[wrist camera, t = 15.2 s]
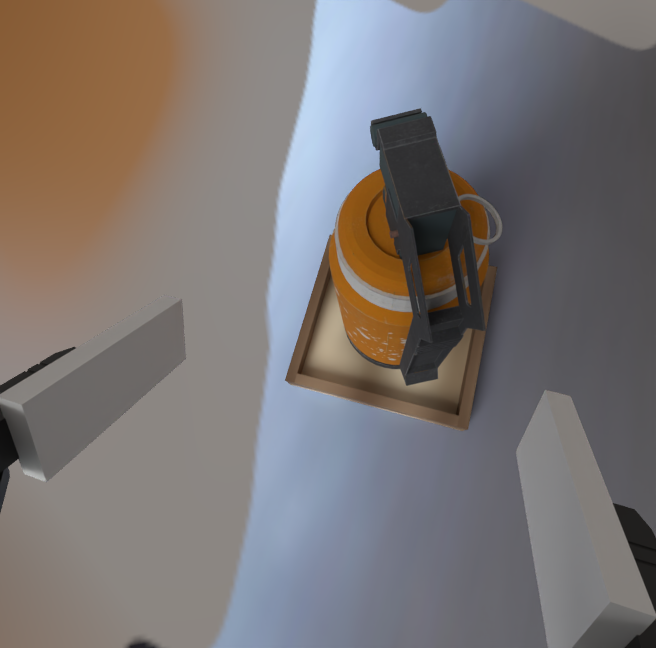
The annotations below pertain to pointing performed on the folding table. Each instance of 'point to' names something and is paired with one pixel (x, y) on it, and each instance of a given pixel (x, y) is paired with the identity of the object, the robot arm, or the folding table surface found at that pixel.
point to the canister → (410, 252)
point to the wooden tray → (377, 382)
